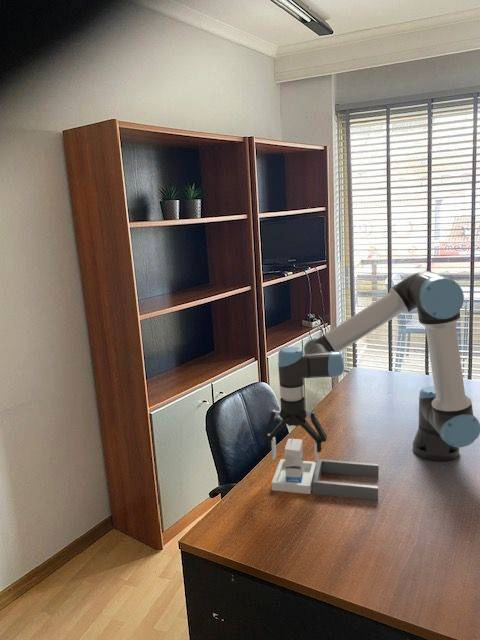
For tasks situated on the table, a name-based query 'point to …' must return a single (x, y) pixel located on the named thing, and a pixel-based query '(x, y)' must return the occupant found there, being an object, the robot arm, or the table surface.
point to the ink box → (294, 460)
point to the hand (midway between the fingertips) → (295, 459)
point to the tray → (303, 487)
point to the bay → (345, 488)
